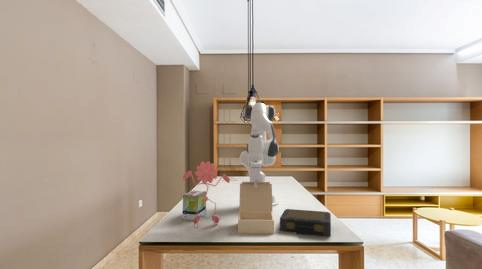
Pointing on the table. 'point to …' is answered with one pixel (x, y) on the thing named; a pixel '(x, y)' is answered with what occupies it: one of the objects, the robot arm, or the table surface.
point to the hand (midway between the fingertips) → (255, 187)
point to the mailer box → (255, 222)
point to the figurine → (206, 175)
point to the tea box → (193, 204)
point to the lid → (255, 197)
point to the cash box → (306, 222)
